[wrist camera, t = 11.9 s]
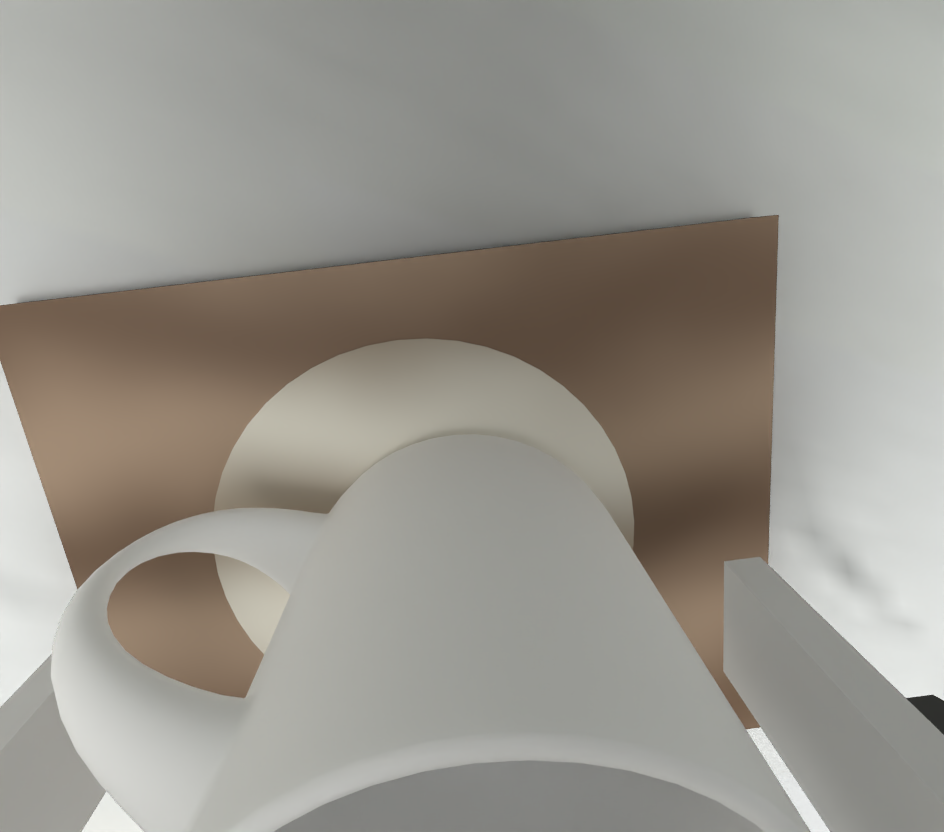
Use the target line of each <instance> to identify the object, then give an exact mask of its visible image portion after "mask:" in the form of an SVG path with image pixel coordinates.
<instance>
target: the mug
mask: <svg viewBox="0 0 944 832" xmlns="http://www.w3.org/2000/svg"><path fill="white" fill-rule="evenodd" d="M179 552H202V553H213V554H218V555H223V556H228V557H231V558H234V559H237V560H240V561H242V562H245V563H247V564H249V565H251V566H253V567H255V568H257V569H258V570H260V571H261V572H263V573H265V574H266V575H268V576H269V577H270V578H272V579H273V580H274V581H276V582H277V583H278V584H280V585H281V586H282V587H283V588H284V589H285V590H286V591H287V592H288V593H289V594H290V597H289V599H288V602H287V604H286V606H285V608H284V611H283V613H282V615H281V618H280V620H279V622H278V625H277V627H276V629H275V631H274V634H273V636H272V638H271V641H270V643H269V645H268V647H267V650H266V652H265V654H264V657H263V659H262V661H261V663H260V666H259V668H258V670H257V672H256V675H255V677H254V679H253V681H252V684H251V686H250V688H249V690H248V693H247V695H246V697H245V698H239V697H231V696H224V695H220V694H216V693H213V692H209V691H206V690H202V689H198V688H195V687H192V686H190V685H187V684H184V683H182V682H179V681H177V680H174V679H171V678H169V677H167V676H165V675H163V674H161V673H159V672H157V671H155V670H153V669H151V668H150V667H148V666H146V665H144V664H142V663H141V662H140V661H138V660H137V659H136V658H134V657H133V656H132V655H131V654H129V653H128V652H127V651H125V649H124V648H123V647H122V646H121V644H120V643H119V642H118V640H117V639H116V638H115V637H114V635H113V633H112V631H111V628H110V626H109V624H108V617H107V605H108V601H109V597H110V594H111V593H112V591H113V589H114V587H115V585H116V584H117V582H118V581H119V580H120V579H121V578H122V577H123V576H124V575H125V574H126V573H127V572H128V571H130V570H131V569H133V568H135V567H136V566H138V565H139V564H141V563H143V562H146V561H148V560H151V559H153V558H156V557H158V556H163V555H168V554H173V553H179ZM51 680H52V684H53V688H54V693H55V697H56V701H57V705H58V709H59V714H60V718H61V720H62V722H63V724H64V726H65V728H66V731H67V733H68V735H69V737H70V739H71V741H72V743H73V746H74V748H75V750H76V752H77V753H78V754H79V756H80V757H81V759H82V760H83V761H84V763H85V764H86V766H87V767H88V768H89V770H90V771H91V773H92V774H93V775H94V777H95V778H96V779H97V781H98V782H99V784H100V785H101V786H102V787H103V788H104V789H105V790H106V791H107V792H108V794H109V795H110V796H111V797H112V798H113V799H114V800H115V801H116V803H117V804H118V805H119V806H120V807H121V808H122V809H123V810H124V811H125V813H126V814H127V815H128V816H129V817H130V818H131V819H132V820H133V821H134V822H135V823H136V824H137V825H138V826H139V827H140V828H141V829H142V830H143V831H144V832H810V830H809V828H808V827H807V825H806V824H805V822H804V821H803V819H802V817H801V816H800V814H799V813H798V811H797V809H796V808H795V806H794V805H793V803H792V802H791V800H790V798H789V797H788V795H787V794H786V792H785V790H784V789H783V787H782V786H781V784H780V783H779V781H778V779H777V778H776V776H775V775H774V773H773V771H772V770H771V768H770V767H769V765H768V764H767V762H766V760H765V759H764V757H763V756H762V754H761V753H760V751H759V749H758V748H757V746H756V745H755V743H754V741H753V740H752V738H751V737H750V735H749V734H748V732H747V730H746V729H745V727H744V726H743V724H742V722H741V721H740V719H739V718H738V716H737V715H736V713H735V711H734V710H733V708H732V707H731V705H730V704H729V702H728V700H727V699H726V697H725V696H724V694H723V692H722V691H721V689H720V688H719V686H718V685H717V683H716V681H715V680H714V678H713V677H712V675H711V673H710V672H709V670H708V669H707V667H706V666H705V664H704V662H703V661H702V659H701V658H700V656H699V654H698V653H697V651H696V650H695V648H694V647H693V645H692V643H691V642H690V640H689V639H688V637H687V636H686V634H685V632H684V631H683V629H682V628H681V626H680V624H679V623H678V621H677V620H676V618H675V617H674V615H673V613H672V612H671V610H670V609H669V607H668V605H667V604H666V602H665V601H664V599H663V598H662V596H661V594H660V593H659V591H658V590H657V588H656V587H655V585H654V583H653V582H652V580H651V579H650V577H649V575H648V574H647V572H646V571H645V569H644V568H643V566H642V564H641V563H640V561H639V560H638V558H637V556H636V555H635V553H634V552H633V550H632V549H631V547H630V545H629V544H628V542H627V541H626V539H625V537H624V536H623V534H622V533H621V531H620V530H619V528H618V526H617V525H616V523H615V522H614V520H613V519H612V517H611V515H610V514H609V512H608V511H607V509H606V508H605V507H604V505H603V504H602V503H601V501H600V500H599V499H598V498H597V496H596V495H595V494H594V493H593V492H592V490H591V489H590V488H589V487H588V485H587V484H586V483H585V482H584V481H583V480H581V479H580V478H579V477H578V476H577V475H576V474H575V473H574V472H573V471H572V470H570V469H569V468H567V467H566V466H565V465H563V464H562V463H560V462H559V461H558V460H556V459H555V458H553V457H552V456H550V455H548V454H546V453H544V452H542V451H540V450H538V449H536V448H534V447H532V446H529V445H526V444H523V443H521V442H518V441H515V440H511V439H506V438H502V437H497V436H489V435H478V434H463V435H449V436H443V437H437V438H432V439H428V440H425V441H422V442H418V443H415V444H412V445H410V446H407V447H405V448H403V449H400V450H398V451H396V452H394V453H392V454H390V455H389V456H387V457H385V458H384V459H382V460H380V461H379V462H377V463H376V464H374V465H373V466H372V467H371V468H369V469H368V470H367V471H366V472H365V473H363V474H362V475H361V476H360V477H359V478H358V479H357V480H356V481H355V482H354V483H353V484H352V485H351V486H350V487H349V488H348V489H347V490H346V492H345V493H344V494H343V495H342V496H341V497H340V498H339V500H338V501H337V503H336V504H335V505H334V507H333V508H332V509H331V511H330V512H329V513H327V514H322V513H313V512H306V511H299V510H290V509H279V508H236V509H226V510H218V511H214V512H209V513H204V514H199V515H196V516H193V517H189V518H186V519H183V520H179V521H176V522H174V523H171V524H169V525H166V526H164V527H162V528H159V529H157V530H155V531H153V532H151V533H149V534H147V535H145V536H143V537H142V538H140V539H138V540H136V541H134V542H133V543H131V544H130V545H128V546H127V547H125V548H124V549H122V550H121V551H119V552H118V553H116V554H115V555H114V556H113V557H111V558H110V559H109V560H108V561H106V562H105V563H104V564H103V565H101V566H100V567H99V568H98V569H97V570H95V571H94V572H93V574H92V575H91V576H90V577H89V578H88V579H87V580H86V581H85V582H84V583H83V584H82V585H81V586H80V587H79V589H78V590H77V591H76V593H75V594H74V596H73V597H72V599H71V601H70V602H69V604H68V606H67V607H66V609H65V610H64V612H63V614H62V615H61V619H60V622H59V625H58V628H57V631H56V635H55V638H54V642H53V646H52V660H51Z"/></svg>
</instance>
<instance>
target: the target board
mask: <svg viewBox="0 0 944 832" xmlns="http://www.w3.org/2000/svg"><path fill="white" fill-rule="evenodd" d="M778 217H779V215H773V216H763V217H753V218H744V219H736V220H727V221H719V222H710V223H701V224H693V225H684V226H676V227H667V228H659V229H650V230H641V231H633V232H624V233H616V234H607V235H599V236H590V237H582V238H573V239H564V240H556V241H547V242H539V243H530V244H522V245H513V246H504V247H496V248H487V249H479V250H470V251H462V252H453V253H444V254H436V255H427V256H419V257H410V258H402V259H393V260H385V261H376V262H367V263H359V264H350V265H342V266H333V267H325V268H316V269H307V270H299V271H290V272H282V273H273V274H265V275H256V276H247V277H239V278H230V279H222V280H213V281H205V282H196V283H188V284H179V285H170V286H162V287H153V288H145V289H136V290H128V291H119V292H110V293H102V294H93V295H85V296H76V297H68V298H59V299H51V300H42V301H33V302H25V303H16V304H9V305H1V306H0V361H1V364H2V367H3V370H4V373H5V376H6V379H7V382H8V385H9V388H10V391H11V394H12V397H13V400H14V403H15V406H16V409H17V411H18V414H19V417H20V420H21V423H22V426H23V429H24V432H25V435H26V438H27V441H28V444H29V447H30V450H31V453H32V456H33V459H34V462H35V465H36V468H37V471H38V474H39V477H40V480H41V482H42V485H43V488H44V491H45V494H46V497H47V500H48V503H49V506H50V509H51V512H52V515H53V518H54V521H55V524H56V527H57V530H58V533H59V536H60V539H61V542H62V545H63V548H64V551H65V553H66V556H67V559H68V562H69V565H70V568H71V571H72V574H73V577H74V580H75V583H76V586H77V589H79V587H80V586H81V585H82V584H83V583H84V582H85V581H86V580H87V579H88V578H89V577H90V576H91V575H92V574H93V572H94V571H95V570H97V569H98V568H99V567H100V566H101V565H103V564H104V563H105V562H106V561H108V560H109V559H110V558H111V557H113V556H114V555H115V554H116V553H118V552H119V551H121V550H122V549H124V548H125V547H127V546H128V545H130V544H131V543H133V542H134V541H136V540H138V539H140V538H142V537H143V536H145V535H147V534H149V533H151V532H153V531H155V530H157V529H159V528H162V527H164V526H166V525H169V524H171V523H174V522H176V521H179V520H183V519H186V518H189V517H193V516H196V515H199V514H204V513H209V512H214V511H218V510H226V509H236V508H279V509H290V510H299V511H306V512H313V513H322V514H327V513H329V512H330V511H331V509H332V508H333V507H334V505H335V504H336V503H337V501H338V500H339V498H340V497H341V496H342V495H343V494H344V493H345V492H346V490H347V489H348V488H349V487H350V486H351V485H352V484H353V483H354V482H355V481H356V480H357V479H358V478H359V477H360V476H361V475H362V474H363V473H365V472H366V471H367V470H368V469H369V468H371V467H372V466H373V465H374V464H376V463H377V462H379V461H380V460H382V459H384V458H385V457H387V456H389V455H390V454H392V453H394V452H396V451H398V450H400V449H403V448H405V447H407V446H410V445H412V444H415V443H418V442H422V441H425V440H428V439H432V438H437V437H443V436H449V435H463V434H478V435H489V436H497V437H502V438H506V439H511V440H515V441H518V442H521V443H523V444H526V445H529V446H532V447H534V448H536V449H538V450H540V451H542V452H544V453H546V454H548V455H550V456H552V457H553V458H555V459H556V460H558V461H559V462H560V463H562V464H563V465H565V466H566V467H567V468H569V469H570V470H572V471H573V472H574V473H575V474H576V475H577V476H578V477H579V478H580V479H581V480H583V481H584V482H585V483H586V484H587V485H588V487H589V488H590V489H591V490H592V492H593V493H594V494H595V495H596V496H597V498H598V499H599V500H600V501H601V503H602V504H603V505H604V507H605V508H606V509H607V511H608V512H609V514H610V515H611V517H612V519H613V520H614V522H615V523H616V525H617V526H618V528H619V530H620V531H621V533H622V534H623V536H624V537H625V539H626V541H627V542H628V544H629V545H630V547H631V549H632V550H633V552H634V553H635V555H636V556H637V558H638V560H639V561H640V563H641V564H642V566H643V568H644V569H645V571H646V572H647V574H648V575H649V577H650V579H651V580H652V582H653V583H654V585H655V587H656V588H657V590H658V591H659V593H660V594H661V596H662V598H663V599H664V601H665V602H666V604H667V605H668V607H669V609H670V610H671V612H672V613H673V615H674V617H675V618H676V620H677V621H678V623H679V624H680V626H681V628H682V629H683V631H684V632H685V634H686V636H687V637H688V639H689V640H690V642H691V643H692V645H693V647H694V648H695V650H696V651H697V653H698V654H699V656H700V658H701V659H702V661H703V662H704V664H705V666H706V667H707V669H708V670H709V672H710V673H711V675H712V677H713V678H714V680H715V681H716V683H717V685H718V686H719V688H720V689H721V691H722V692H723V694H724V696H725V697H726V699H727V700H728V702H729V704H730V705H731V707H732V708H733V710H734V711H735V713H736V715H737V716H738V718H739V719H740V721H741V722H742V724H743V726H744V727H745V729H751V728H759V727H760V725H759V724H758V722H757V721H756V719H755V718H754V716H753V715H752V713H751V712H750V710H749V709H748V707H747V706H746V704H745V703H744V701H743V700H742V698H741V697H740V695H739V694H738V692H737V691H736V689H735V688H734V686H733V685H732V683H731V682H730V680H729V679H728V677H727V676H726V674H725V673H724V671H723V645H724V561H731V560H739V559H747V558H755V557H761V558H762V559H763V560H764V561H765V562H766V563H767V564H768V547H769V514H770V481H771V448H772V415H773V382H774V349H775V316H776V283H777V250H778ZM289 597H290V594H289V593H288V592H287V591H286V590H285V589H284V588H283V587H282V586H281V585H280V584H278V583H277V582H276V581H274V580H273V579H272V578H270V577H269V576H268V575H266V574H265V573H263V572H261V571H260V570H258V569H257V568H255V567H253V566H251V565H249V564H247V563H245V562H242V561H240V560H237V559H234V558H231V557H228V556H223V555H218V554H213V553H202V552H179V553H173V554H168V555H163V556H158V557H156V558H153V559H151V560H148V561H146V562H143V563H141V564H139V565H138V566H136V567H135V568H133V569H131V570H130V571H128V572H127V573H126V574H125V575H124V576H123V577H122V578H121V579H120V580H119V581H118V582H117V584H116V585H115V587H114V589H113V591H112V593H111V594H110V597H109V601H108V605H107V617H108V624H109V626H110V628H111V631H112V633H113V635H114V637H115V638H116V639H117V640H118V642H119V643H120V644H121V646H122V647H123V648H124V649H125V651H127V652H128V653H129V654H131V655H132V656H133V657H134V658H136V659H137V660H138V661H140V662H141V663H142V664H144V665H146V666H148V667H150V668H151V669H153V670H155V671H157V672H159V673H161V674H163V675H165V676H167V677H169V678H171V679H174V680H177V681H179V682H182V683H184V684H187V685H190V686H192V687H195V688H198V689H202V690H206V691H209V692H213V693H216V694H220V695H224V696H231V697H239V698H245V697H246V695H247V693H248V690H249V688H250V686H251V684H252V681H253V679H254V677H255V675H256V672H257V670H258V668H259V666H260V663H261V661H262V659H263V657H264V654H265V652H266V650H267V647H268V645H269V643H270V641H271V638H272V636H273V634H274V631H275V629H276V627H277V625H278V622H279V620H280V618H281V615H282V613H283V611H284V608H285V606H286V604H287V602H288V599H289Z"/></svg>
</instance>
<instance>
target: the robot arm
mask: <svg viewBox="0 0 944 832" xmlns="http://www.w3.org/2000/svg"><path fill="white" fill-rule="evenodd" d="M51 660H52V654H51V655H50V656H49V657H48V658H47V659H46V660H45V662H44V663H43V664H42V665H41V666H40V667H39V668H38V669H37V670H36V671H35V672H34V673H33V674H32V675H31V676H30V677H29V678H28V679H27V680H26V681H25V682H24V683H23V684H22V686H21V687H20V688H19V689H18V690H17V691H16V692H15V693H14V694H13V695H12V696H11V697H10V698H9V699H8V700H7V701H6V702H5V703H4V704H3V705H2V706H1V707H0V832H81V831H82V830H83V828H84V827H85V825H86V823H87V822H88V820H89V819H90V817H91V815H92V814H93V812H94V810H95V809H96V807H97V806H98V804H99V802H100V801H101V799H102V797H103V796H104V794H105V793H106V790H105V789H104V788H103V787H102V786H101V785H100V784H99V782H98V781H97V779H96V778H95V777H94V775H93V774H92V773H91V771H90V770H89V768H88V767H87V766H86V764H85V763H84V761H83V760H82V759H81V757H80V756H79V754H78V753H77V752H76V750H75V748H74V746H73V743H72V741H71V739H70V737H69V735H68V733H67V731H66V728H65V726H64V724H63V722H62V720H61V718H60V714H59V709H58V705H57V701H56V697H55V693H54V688H53V684H52V680H51ZM723 671H724V673H725V674H726V676H727V677H728V679H729V680H730V682H731V683H732V685H733V686H734V688H735V689H736V691H737V692H738V694H739V695H740V697H741V698H742V700H743V701H744V703H745V704H746V706H747V707H748V709H749V710H750V712H751V713H752V715H753V716H754V718H755V719H756V721H757V722H758V724H759V725H760V727H761V728H762V730H763V731H764V733H765V734H766V736H767V737H768V739H769V740H770V742H771V743H772V745H773V746H774V748H775V749H776V751H777V752H778V754H779V755H780V757H781V758H782V760H783V761H784V763H785V764H786V766H787V767H788V769H789V770H790V772H791V773H792V775H793V776H794V778H795V779H796V781H797V782H798V784H799V785H800V787H801V788H802V790H803V791H804V793H805V794H806V796H807V797H808V799H809V800H810V802H811V803H812V805H813V806H814V808H815V809H816V811H817V812H818V814H819V815H820V817H821V818H822V820H823V821H824V823H825V824H826V826H827V827H828V829H829V830H830V832H944V701H943V700H941V699H940V698H938V697H936V696H934V695H927V696H920V697H912V698H905V697H904V696H903V695H902V694H901V693H900V692H899V691H898V690H897V689H896V688H895V687H894V686H893V685H892V684H891V683H890V682H889V681H888V680H887V679H886V678H885V677H884V676H882V675H881V674H880V673H879V672H878V671H877V670H876V669H875V668H874V667H873V666H872V665H871V664H870V663H869V662H868V661H867V660H866V659H865V658H864V657H863V656H862V655H861V654H860V653H859V652H858V651H857V650H856V649H855V648H854V647H853V646H852V645H850V644H849V643H848V642H847V641H846V640H845V639H844V638H843V637H842V636H841V635H840V634H839V633H838V632H837V631H836V630H835V629H834V628H833V627H832V626H831V625H830V624H829V623H828V622H827V621H826V620H825V619H824V618H823V617H822V616H821V615H820V614H818V613H817V612H816V611H815V610H814V609H813V608H812V607H811V606H810V605H809V604H808V603H807V602H806V601H805V600H804V599H803V598H802V597H801V596H800V595H799V594H798V593H797V592H796V591H795V590H794V589H793V588H792V587H791V586H790V585H789V584H788V583H786V582H785V581H784V580H783V579H782V578H781V577H780V576H779V575H778V574H777V573H776V572H775V571H774V570H773V569H772V568H771V567H770V566H769V565H768V564H767V563H766V562H765V561H764V560H763V559H762V558H761V557H755V558H747V559H739V560H731V561H724V645H723Z"/></svg>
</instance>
